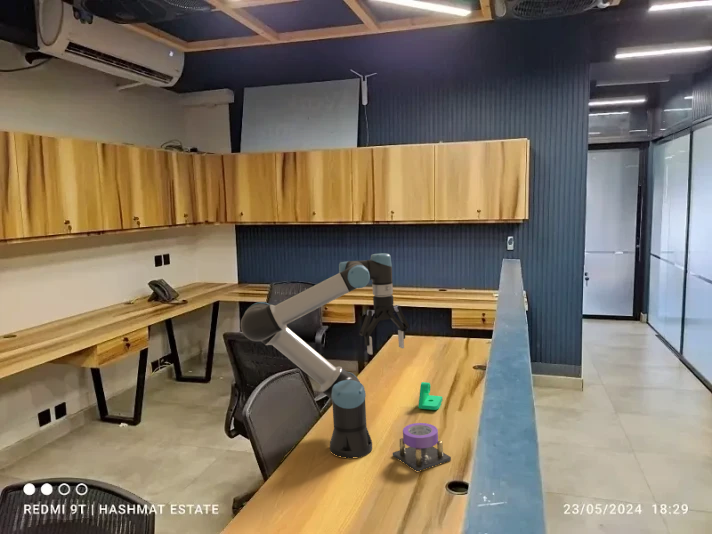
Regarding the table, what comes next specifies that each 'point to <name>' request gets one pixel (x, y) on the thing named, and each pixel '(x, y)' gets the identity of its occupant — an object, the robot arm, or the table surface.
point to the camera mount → (428, 398)
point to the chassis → (421, 456)
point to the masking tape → (420, 435)
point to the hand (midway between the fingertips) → (385, 350)
